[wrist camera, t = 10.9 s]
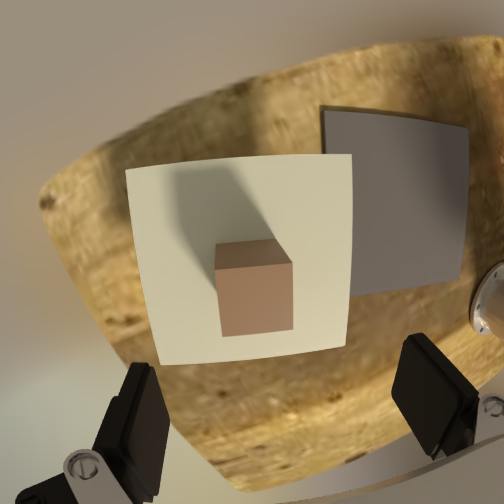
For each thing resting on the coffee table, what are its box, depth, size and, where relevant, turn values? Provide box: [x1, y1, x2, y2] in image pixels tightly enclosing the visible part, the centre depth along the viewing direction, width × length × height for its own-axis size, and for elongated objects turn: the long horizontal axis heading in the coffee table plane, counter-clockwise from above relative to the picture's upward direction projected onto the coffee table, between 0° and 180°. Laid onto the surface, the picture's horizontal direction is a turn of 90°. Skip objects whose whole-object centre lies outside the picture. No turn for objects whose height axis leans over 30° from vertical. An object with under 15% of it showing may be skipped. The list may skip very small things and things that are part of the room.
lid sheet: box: [125, 154, 353, 365], centre depth 19 cm, size 15×15×6 cm
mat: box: [322, 111, 470, 297], centre depth 31 cm, size 20×20×1 cm
